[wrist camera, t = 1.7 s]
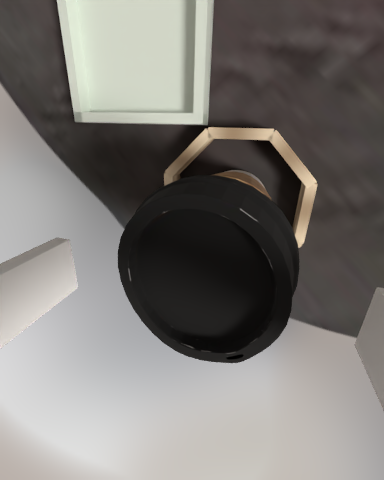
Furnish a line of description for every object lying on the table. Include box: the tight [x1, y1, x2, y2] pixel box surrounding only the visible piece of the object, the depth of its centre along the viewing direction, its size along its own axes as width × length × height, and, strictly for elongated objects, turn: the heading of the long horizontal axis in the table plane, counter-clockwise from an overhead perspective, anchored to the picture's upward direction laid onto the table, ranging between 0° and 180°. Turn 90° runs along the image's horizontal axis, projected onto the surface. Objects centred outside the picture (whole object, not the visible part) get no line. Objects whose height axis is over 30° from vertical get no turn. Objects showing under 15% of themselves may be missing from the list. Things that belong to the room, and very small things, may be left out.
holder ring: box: [164, 127, 317, 248], centre depth 22 cm, size 13×13×2 cm
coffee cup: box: [118, 170, 299, 363], centre depth 16 cm, size 8×8×15 cm
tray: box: [57, 0, 214, 125], centre depth 19 cm, size 13×12×2 cm
